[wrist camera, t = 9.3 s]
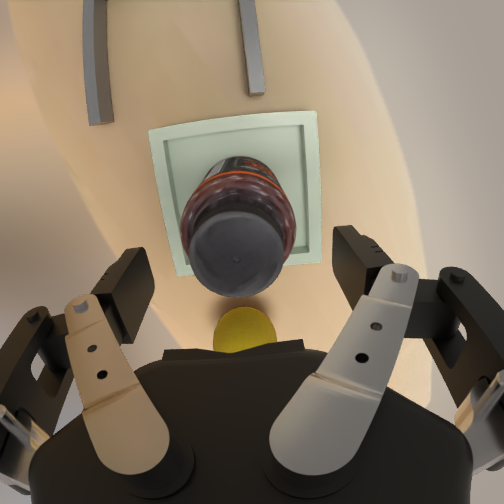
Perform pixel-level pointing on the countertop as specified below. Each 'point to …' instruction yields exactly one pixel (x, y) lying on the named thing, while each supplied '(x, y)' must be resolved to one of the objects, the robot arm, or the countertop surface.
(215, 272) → the supplement bottle
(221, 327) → the lemon
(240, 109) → the countertop surface
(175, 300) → the countertop surface
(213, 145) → the tray
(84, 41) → the holder
